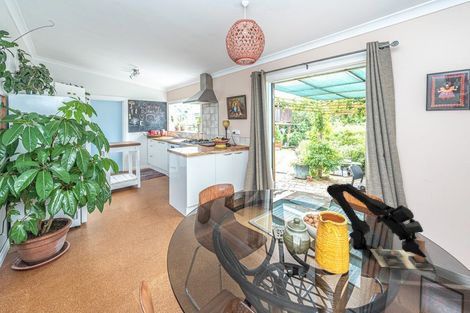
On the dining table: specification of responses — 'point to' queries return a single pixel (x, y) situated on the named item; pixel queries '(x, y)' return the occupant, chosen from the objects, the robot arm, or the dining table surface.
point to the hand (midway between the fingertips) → (423, 251)
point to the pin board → (399, 259)
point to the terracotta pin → (422, 246)
